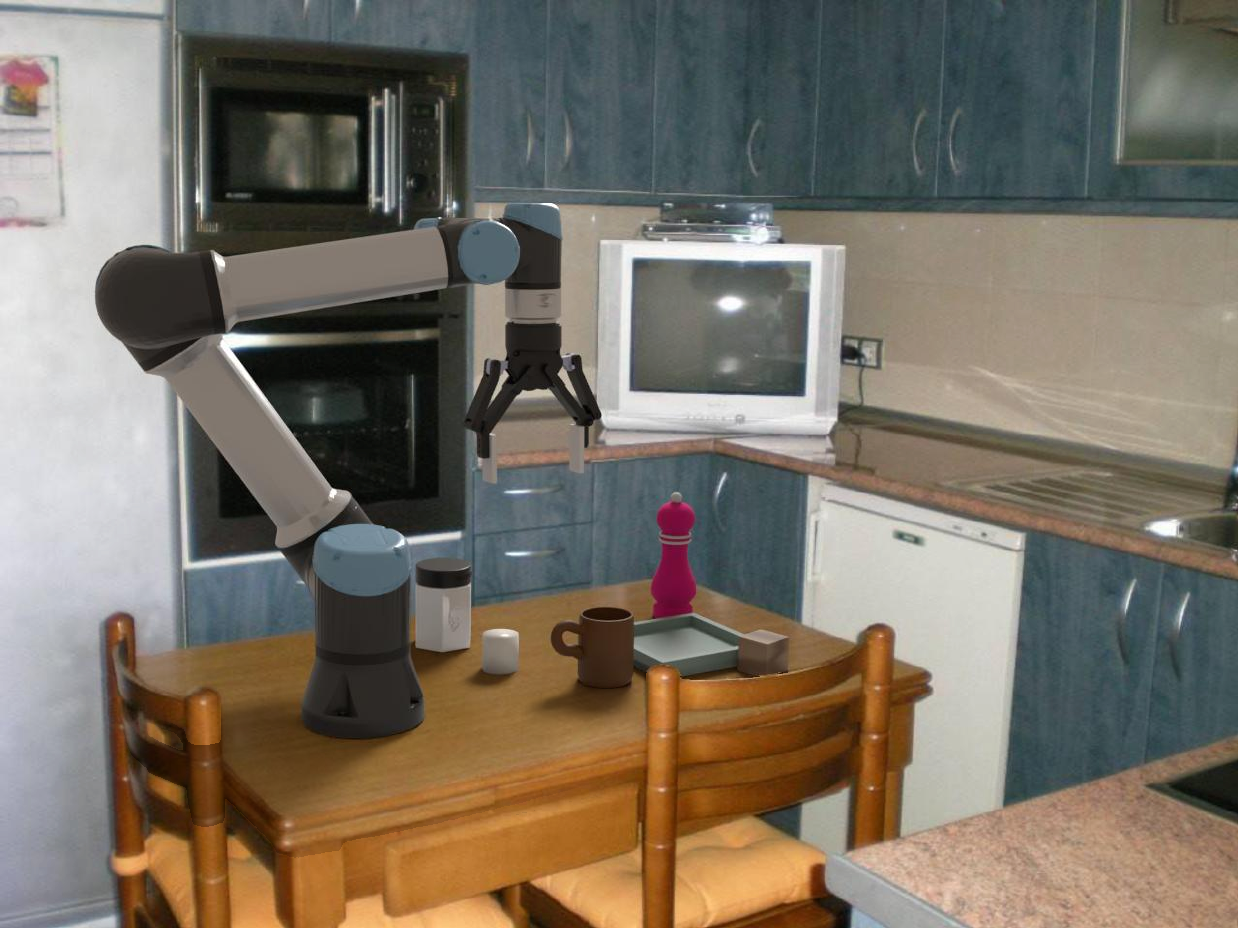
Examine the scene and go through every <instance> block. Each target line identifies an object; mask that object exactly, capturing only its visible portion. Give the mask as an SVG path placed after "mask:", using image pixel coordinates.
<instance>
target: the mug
mask: <svg viewBox="0 0 1238 928" xmlns="http://www.w3.org/2000/svg"><path fill="white" fill-rule="evenodd" d="M633 613H634V612H632V611H631V610H628V609H625V608H622V607H615V606H594V607H593V606H592V607H588V608H585V609H582V611H580V613H579V617H578V621H575V620H572V619H564V620H561V621H559V622H558V623H556V624H555V626H554V627H553V628H552V629H551V634H550V644H551V646H552V649H554V651H555V652H556V653H557V654H559V655H560V656H563V657H567V658H568V657H569V658H571V657H572V658H574V659H575V660H577V677H578V680H579V681H580V682H581V683H582V684H584V685H586V686H589V687H592V688H599V689H615V688H621V687H623V686H626V685H628V684H630V682H631V681H632V679H633V676H634V666H633V657H634V622H635V620H634V619H635V617H634V614H633ZM565 632H569V633H572V634H575V635H577V644H574V643H566V642H564V639H563V634H564V633H565ZM620 686H621V687H620Z"/></svg>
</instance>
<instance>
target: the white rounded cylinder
mask: <svg viewBox="0 0 1238 928" xmlns="http://www.w3.org/2000/svg"><path fill="white" fill-rule="evenodd" d="M519 635H520V634H519V632H518V631H516V630H512V629H507V628H496V629H495V628H494V629H489V630H488V629H487V630H485V631H484V632H482V643H481V644H482V646H481V647H482V648H481V649H482V650H481V651H482V654H481V655H482V657H481V660H482V661H481V663H482V666H481V667H482V668H481V669H482V671H483V672H485V673H487V674H491V675H509V674H514V673H515V672H517V671H518V670H519V652H520V651H519V649H520V648H519V646H520V645H519V641H520V640H519V639H520V638H519V637H520V636H519Z"/></svg>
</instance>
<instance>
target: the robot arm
mask: <svg viewBox="0 0 1238 928" xmlns="http://www.w3.org/2000/svg"><path fill="white" fill-rule="evenodd" d="M562 243H563V234H562V220H561V211H560V209H559V207H558V205H556V204H555V203H549V202H548V203H547V202H546V203H545V202H544V203H543V202H540V203H539V202H533V203H532V202H528V203H527V202H514V203H513V202H510V203H509V202H508V203H507V204H506V205H505V206H504V209H503V214H502V217H494V218H477V217H473V218H471V217H442V216H439V217H433V218H421V219H419V220H418V221H416V223H415V224H414V227H413V229H410V230H401V231H396V232H389V233H387V232H386V233H382V234H374V235H368V236H362V237H361V236H359V237H354V238H348V239H342V240H341V239H340V240H333V241H326V242H321V243H319V242H318V243H313V244H307V245H306V244H305V245H300V246H291V247H285V248H278V249H270V250H264V251H257V252H250V253H249V252H248V253H245V254H244V253H243V254H237V255H230V256H222V255H221V254H219V253H218V252H216V251H215V250H214V249H211V250H210V249H208V250H202V251H194V252H193V251H192V252H172V251H170V250H169V249H166V248H165V247H161V246H158V245H153V244H139V245H137V244H136V245H133V246H127V247H126V248H125V249H123V250H120V251H118V252H116V253H115V254H114V255H113V256H111V257H110V258H108V259H107V260H106V261H105V263H103V266H102V267H101V268H100V270H99V273H98V275H97V277H96V281H95V285H94V287H95V288H94V303H95V304H94V305H95V308H96V312H97V316H98V317H99V319H100V322H101V324H102V325H103V326H104V328H105V329H106V331H107V332H109V333H110V335H112V337H114V338H115V339H117V340H118V341H119V342H121V343H122V344H123V346H124V347H125V348H126V350H127V351H128V352H129V354H130V355H131V357H133V359H134V360H135V361H136V363H137V364H138V365H139V367H140V368H141V369H142V370H143V372H144V374H147V375H152V376H156V377H157V376H158V377H162V378H164V379H165V381H167V383H168V384H169V386H170V387H171V388H172V389H173V391H174V392H175V393H176V395H177V396H178V397H179V399H180V400H181V402H182V403H183V404H184V406H185V407H186V408H187V409H188V411H189V412H190V413H191V415H192V416H193V417H194V419H195V421H197V423H198V424H199V425H200V426H201V428H202V429H203V430H204V433H206V435H207V436H208V437H209V439H210V440H211V441H212V442H213V444H214V445H215V446H216V448H217V449H218V451H219V452H220V454H222V456H223V457H224V459H225V460H226V461H227V463H228V464H229V465H230V466H231V468H232V469H233V471H234V472H235V473H236V475H238V477H239V479H240V480H241V481H242V482H243V484H244V485H245V486H246V488H247V489H248V491H249V492H250V493H251V495H252V496H253V497H254V498H255V500H256V501H257V502H258V504H259V505H260V507H261V508H262V509H263V510H264V512H265V513H266V514H267V516H268V517H269V519H270V520H271V521H272V522H273V524H274V525H275V527H276V535H275V541H274V543H275V546H276V547H277V548H278V550H279V552H280V553H281V554H282V555H283V556H284V558H285V559H286V560H287V562H288V564H289V565H290V566H291V567H292V569H293V570H294V572H296V574H297V576H298V577H299V578H300V579H301V581H302V582H303V584H304V585H305V587H307V589H308V591H309V593H310V596H311V597H312V599H313V602H314V605H313V606H314V642H315V643H314V647H315V648H314V651H315V655H314V657H315V658H314V663H313V666H312V669H311V672H310V675H309V678H308V682H307V684H306V687H305V692H304V694H303V697H302V701H301V722H302V724H303V725H304V726H305V727H306V728H307V729H309V730H310V731H312V732H314V733H317V734H321V735H324V736H329V737H334V738H345V739H369V738H379V737H386V736H391V735H396V734H399V733H403V732H405V731H408V730H412V729H413V728H414V727H416V726H418V725H419V724H420V723H422V722H423V720H424V719H425V715H426V714H425V709H426V707H425V696H424V693H423V692H424V691H423V690H422V686H421V683H420V681H419V678H418V675H417V672H416V670H415V666H414V662H413V660H412V656H411V572H412V569H413V568H412V566H413V561H412V557H411V549H410V545H409V542H408V540H407V538H406V537H405V536H404V535H403V534H402V533H400V532H399V531H397V530H396V529H393V528H386V527H385V526H383V525H379V524H378V525H377V524H374V523H373V522H372V521H371V519H370V518H369V516H367V514H366V513H365V511H364V510H363V509H362V507H361V506H360V505H359V503H358V502H357V500H356V499H355V498H354V497H353V495H352V493H351V492H349V491H348V490H344V489H343V490H342V489H339V488H338V489H337V488H333V487H331V485H330V483H329V482H328V481H327V479H326V478H325V477H324V475H323V474H322V472H321V471H320V470H319V468H318V467H317V466H316V464H315V462H314V461H313V460H312V459H311V457H310V456H309V455H308V453H307V452H306V451H305V449H304V448H303V446H302V445H301V443H300V442H299V441H298V440H297V438H296V437H295V436H294V434H293V433H292V431H291V430H290V428H289V427H288V426H287V425H286V423H285V422H284V421H283V419H282V417H281V416H280V415H279V414H278V412H277V411H276V409H275V408H274V406H273V405H272V404H271V403H270V401H269V400H268V398H267V397H266V396H265V394H264V393H263V391H262V390H261V389H260V387H259V386H258V384H257V383H256V382H255V380H254V379H253V377H252V376H251V375H250V374H249V372H248V371H247V369H246V368H245V367H244V365H243V364H242V363H241V362H240V359H238V357H237V356H236V355H235V353H234V351H233V350H232V349H231V348H230V346H229V345H228V343H227V342H226V340H224V337H223V334H228V333H230V332H231V330H232V328H233V327H234V325H236V324H237V323H239V322H245V321H253V320H258V319H265V318H270V317H276V316H282V315H289V314H295V313H301V312H308V311H313V310H320V309H325V308H332V307H339V306H345V305H350V304H355V303H357V304H358V303H362V302H369V301H375V300H380V299H386V298H387V299H388V298H392V297H399V296H405V295H410V294H416V293H417V294H418V293H424V292H430V291H435V290H437V291H438V290H441V289H449V288H450V289H452V288H458V287H463V286H465V287H466V286H470V285H475V284H478V285H483V286H490V285H495V284H499V283H502V282H503V281H504V317H506V318H507V319H509V321H507V322H506V324H505V325H504V331H505V332H504V338H505V339H504V343H505V344H504V345H505V347H504V348H505V351H506V356H505V359H504V360H501V359H500V360H499V359H494V358H490V357H488V358H485V360H484V361H483V363H484V364H483V374H482V376H481V379H480V381H479V384H478V386H477V389H476V391H475V394H474V396H473V398H472V401H471V403H470V405H469V408H468V410H467V411H466V415H465V417H464V419H463V422H462V427H463V428H464V429H466V430H469V431H470V432H471V431H472V432H474V433H475V434H476V435H475V436H476V455H477V457H478V458H480V459H481V460H482V463H481V464H482V481H483V482H486V483H489V484H495V485H496V484H498V455H497V454H498V452H497V451H498V449H497V447H498V443H497V442H498V439H497V438H498V437H497V434H494V433H492V431H493V430H494V429H495V427H496V426H497V425H498V423H499V422H500V420H501V419H502V417H503V416H504V415H505V413H506V412H507V410H508V408H509V407H510V406H511V405H512V403H513V402H514V400H515V399H516V397H518V396H519V395H520V394H521V393H522V392H523V391H525V392H531V391H532V392H533V391H536V390H541V391H544V390H545V391H546V390H549V391H551V394H553V396H554V397H555V398H556V400H557V401H558V402H559V403H560V404H561V406H562V407H563V408H564V409H565V411H566V413H567V414H568V415H569V416H570V418H572V420H573V422H575V423H570V424H568V425H569V433H568V435H569V440H568V441H569V443H568V444H569V447H568V448H569V449H568V450H569V451H568V454H569V455H568V457H569V459H568V460H569V461H568V462H569V467H568V468H569V469H568V471H570V472H573V473H576V474H585V449H586V448H587V449H588V447H589V444H590V442H589V441H590V439H589V438H590V432H589V431H590V428H589V427H591V426H593V425H594V421H599V420H601V419H602V417H603V416H602V415H603V414H602V412H601V409H600V407H599V405H598V402H597V401H596V398H595V395H594V393H593V391H592V389H591V386H590V385H589V384H590V383H589V382H588V379H587V377H586V376H585V375H586V374H585V373H584V370H583V362H582V361H583V359H582V356H581V355H580V354H576V353H571V352H567V353H566V354H565V355H563V356H562V355H561V349H562V341H563V340H562V339H563V338H562V336H563V335H562V333H563V332H562V331H563V330H562V326H563V325H562V324H561V322H559V321H558V319H560V318H561V317H562V250H563V249H562V247H563V245H562ZM562 368H563V369H564V371H566V374H567V376H568V379H569V382H570V384H571V385H572V388H573V390H574V393H575V395H576V397H577V399H578V401H579V402H578V401H577V399H576V398H575V397H574V396H573V394H572V393H571V392H570V390H569V389H568V388H567V387H566V383H565V382H564V381H563V379H562V378H561V377H560V376H559V373H560V371H561V370H562ZM504 371H505V372H506V374H507V375H508V376H507V377H506V379H505V380H504V382H503V383H502V385H501V388H500V390H499V392H498V393H497V394H496V395H495V397H494V398H493V395H494V393H495V391H496V389H497V386H498V384H499V381H500V377H501V376H502V375H503V374H504ZM492 398H493V400H492ZM579 403H580V404H579Z"/></svg>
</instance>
